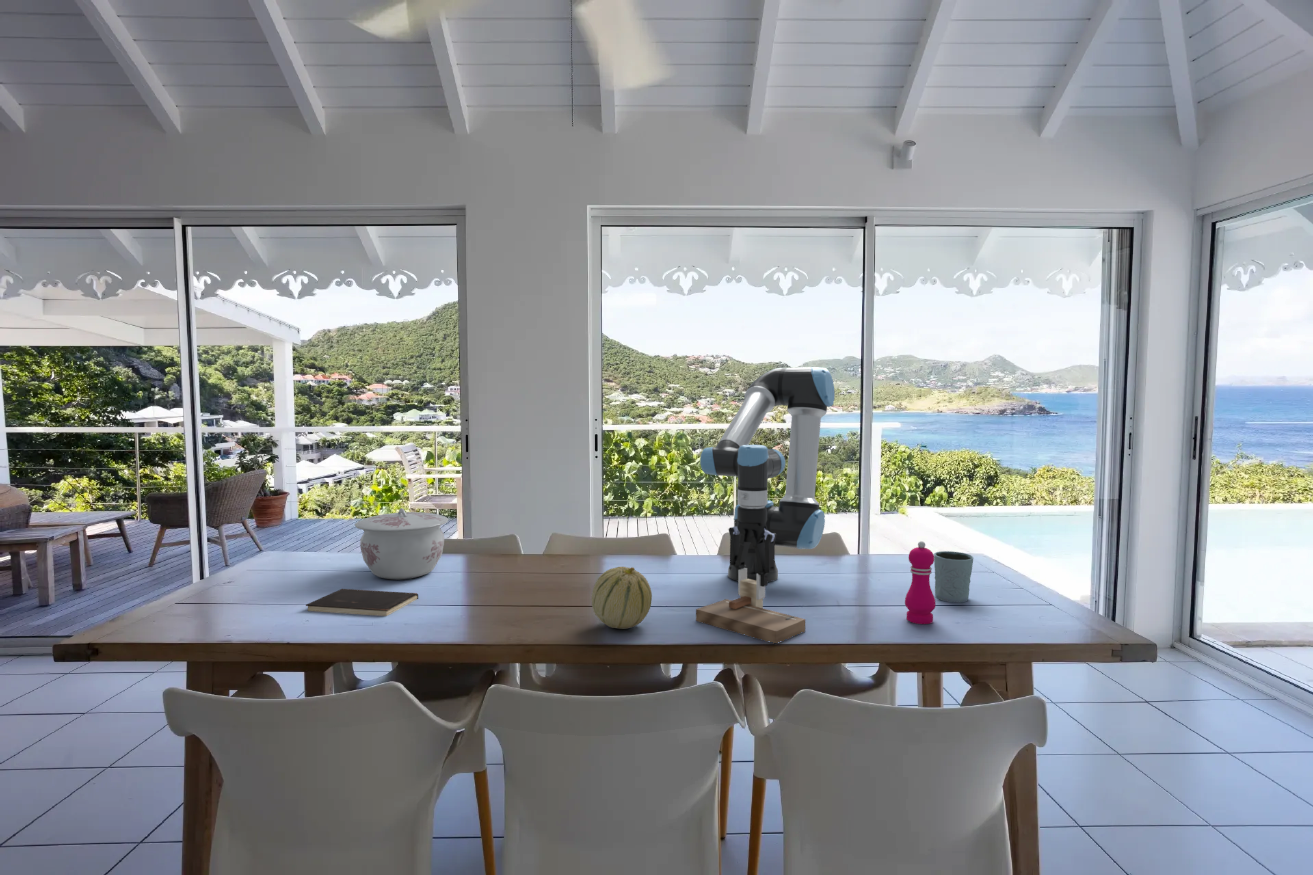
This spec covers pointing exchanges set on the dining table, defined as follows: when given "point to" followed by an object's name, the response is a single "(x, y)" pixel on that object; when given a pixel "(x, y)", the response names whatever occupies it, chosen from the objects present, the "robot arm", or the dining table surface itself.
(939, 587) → the green ceramic cup
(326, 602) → the hardcover book
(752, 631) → the walnut board
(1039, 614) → the dining table surface
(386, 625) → the dining table surface
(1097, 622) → the dining table surface
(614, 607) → the cantaloupe
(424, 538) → the chamber pot
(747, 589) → the marking gauge
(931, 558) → the pepper mill
